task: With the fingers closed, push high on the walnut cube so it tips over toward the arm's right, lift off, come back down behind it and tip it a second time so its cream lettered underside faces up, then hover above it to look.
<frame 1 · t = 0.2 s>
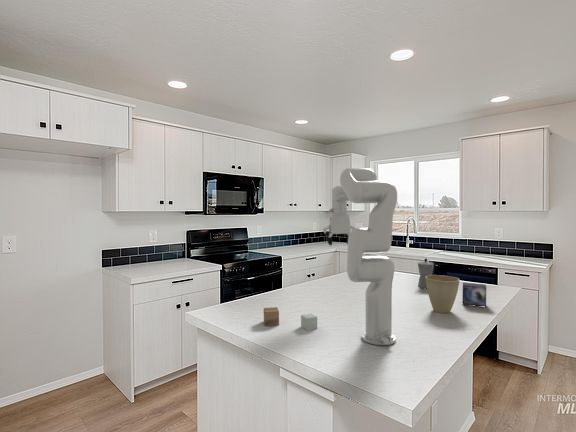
hand: (339, 244, 169), 31 cm above the counter, fingers open, 9 cm apart
sage block: (309, 327, 139), on the counter
plant pot: (442, 311, 160), on the counter
picture frame: (474, 305, 169), on the counter
coffeepot: (426, 287, 209), on the counter
walnut block: (271, 323, 144), on the counter
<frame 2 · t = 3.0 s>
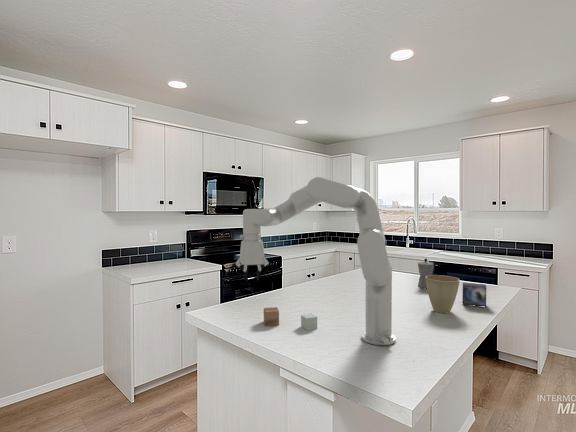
hand: (252, 279, 143), 19 cm above the counter, fingers open, 4 cm apart
nothing on the counter moved.
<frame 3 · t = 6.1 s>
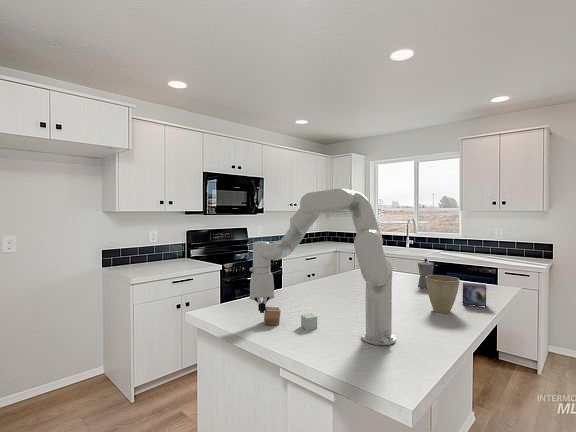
hand: (261, 312, 143), 5 cm above the counter, fingers closed
walnut block: (271, 322, 144), on the counter, tilted 7°, touching gripper
everything else where it was.
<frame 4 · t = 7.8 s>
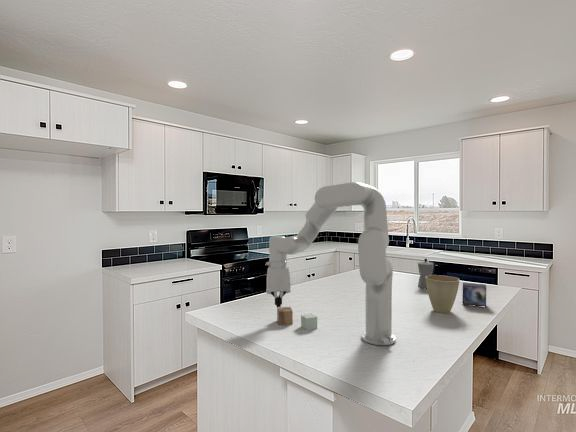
hand: (278, 306, 145), 7 cm above the counter, fingers closed
walnut block: (277, 316, 145), point 3 cm above the counter, tilted 90°
everything else where it was.
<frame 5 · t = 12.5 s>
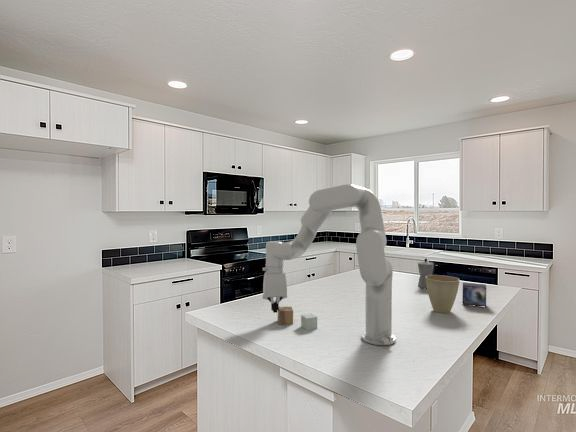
hand: (275, 311, 144), 5 cm above the counter, fingers closed
walnut block: (278, 315, 145), point 3 cm above the counter, tilted 92°, touching gripper
everything else where it was.
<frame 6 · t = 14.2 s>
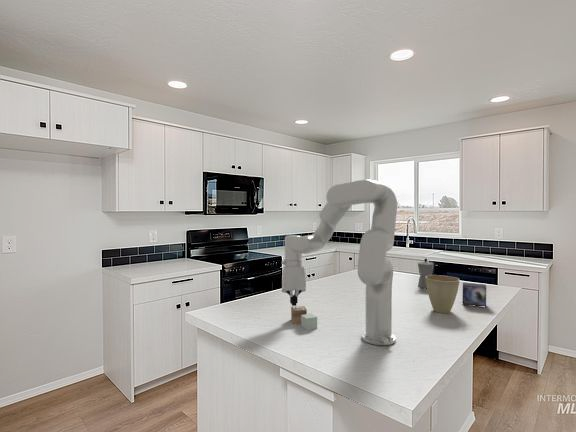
hand: (293, 305, 146), 7 cm above the counter, fingers closed
walnut block: (298, 308, 146), point 6 cm above the counter, tilted 180°
everything else where it was.
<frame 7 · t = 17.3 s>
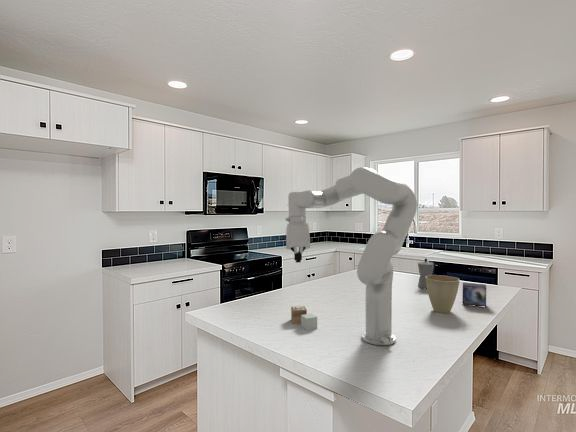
hand: (298, 261, 145), 26 cm above the counter, fingers closed
nothing on the counter moved.
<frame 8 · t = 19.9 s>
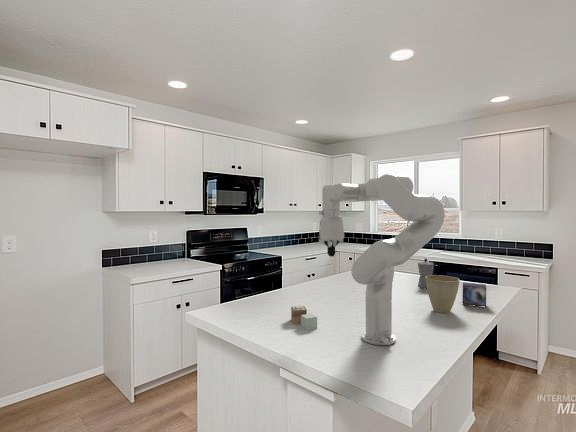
hand: (331, 256, 144), 29 cm above the counter, fingers closed
nothing on the counter moved.
at the end: walnut block tilted 180°; walnut block inside the target area (0.3 cm from its centre), point 5.9 cm above the counter; walnut block moved 13.6 cm from its start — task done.
